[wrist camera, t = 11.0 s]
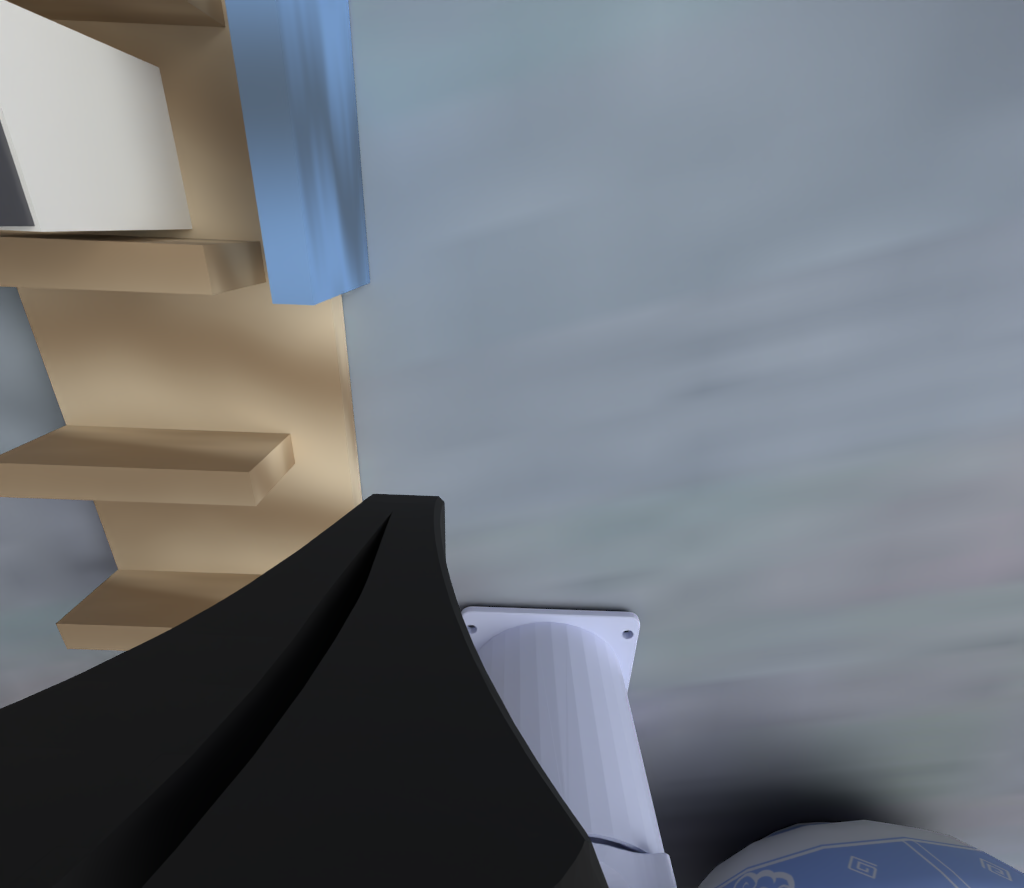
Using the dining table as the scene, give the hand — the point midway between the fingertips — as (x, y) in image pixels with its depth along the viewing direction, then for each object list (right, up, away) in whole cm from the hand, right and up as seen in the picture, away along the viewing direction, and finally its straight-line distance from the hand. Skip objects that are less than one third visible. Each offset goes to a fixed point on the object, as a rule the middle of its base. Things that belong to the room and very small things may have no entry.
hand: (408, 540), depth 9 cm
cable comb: (-8, +5, +8) cm, 13 cm away
